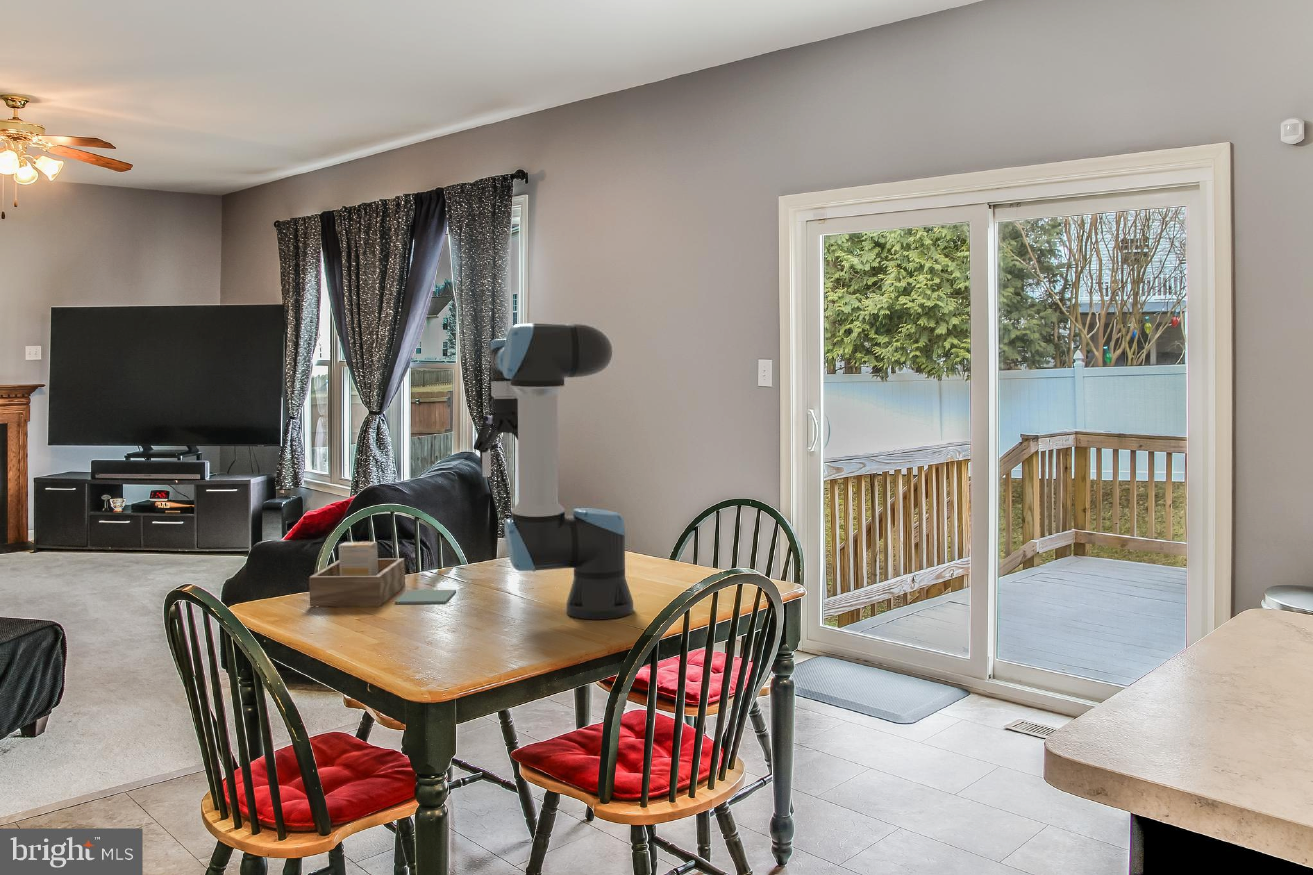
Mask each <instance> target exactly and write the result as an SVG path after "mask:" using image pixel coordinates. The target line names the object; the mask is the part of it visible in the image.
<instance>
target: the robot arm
mask: <svg viewBox="0 0 1313 875" xmlns="http://www.w3.org/2000/svg"><path fill="white" fill-rule="evenodd" d="M489 354H490V369H491V372H490V374H491V375H490V376H491V377H490V378H491V379H490V380H491V383H490V386H491V387H490V388H491V389H490V391H491V393H490V394H491V397H492V399H491V411H492V414H493V415H484V416H482V421H481V422H482V424H481V427H480V428H479V429H480V430H479V431H478V434H477V437H476V440H475V443H474V444H473V450H474V451H478V452H479V458H480V459H479V460H480V461H479V462H480V465H482V466H481V467H482V468H481V469H482V478H488V477H491V476H492V459H491V456H492V455H491V454H492V453H491V451H490V448H491V447H492V445H493V444H494V443H495V441H496V440H497V438H498V437H499V435H500V434H502V433H503V434H504V433H506V434H512V435H513V436H514V437H515V439H516V440H517V448H518V449H517V452H518V454H517V455H518V457H517V461H518V463H517V464H518V466H517V467H518V469H517V470H518V471H517V473H518V481H517V482H518V502H517V504H516V505H515V506H514V507H513V508H512V509H511V517H509V518H506V519H505V520H504V537H505V543H506V550H507V553H508V558H509V561H510V564H511V566H512V568H514V569H515V570H517V572H519V571H520V572H536V571H547V570H560V569H561V570H562V569H573V581H572V584H571V587H570V590H569V593H568V596H567V600H566V604H565V605H566V606H565V607H566V614H567V615H568V616H570V617H573V618H578V619H582V620H610V619H611V620H612V619H618V618H623V617H627V616H629V615H631V614H632V613H634V600H633V596H632V594H631V590H630V588H629V587H630V586H629V584H628V582H627V579H626V534H627V533H626V528H625V519H624V517H623V515H622V514H620V513H618V512H615V511H611V510H606V509H600V508H592V507H590V508H587V507H579V508H578V507H577V508H574V509H573V510H572V512H571V515H566V514H565V513H566V511H565V510H566V509H565V508H564V506H562V505H561V504H560V502H559V499H558V498H559V493H558V492H559V484H558V481H559V480H558V478H559V475H558V474H559V473H558V472H559V471H558V469H559V468H558V467H559V466H558V463H559V462H558V461H559V460H558V454H559V453H558V452H559V451H558V443H559V442H558V436H559V435H558V434H559V433H558V432H559V431H558V430H559V429H558V427H559V426H558V396H559V393H560V392H561V391H562V389H563V388H564V387H565V379H566V378H567V379H568V378H583V377H589V376H592V375H596V374H598V373H600V372H602V371H604V370H605V369H606V368H607V367H608V365H609V364H610V363H611V361H612V357H613V346H612V343H611V341H610V340H609V338H608V337H607V335H606V334H604V333H603V332H602V331H601V330H599V329H598V328H595V327H593V326H590V325H586V324H582V323H581V324H580V323H534V322H529V323H519V324H514V325H512V326H511V327H510V328H509V329H508V332H507V334H506V337H505V338H500V339H499V338H496V339H495V338H494V339H493V340H491V342H490V351H489ZM492 424H493V426H492ZM491 426H492V427H491Z"/></svg>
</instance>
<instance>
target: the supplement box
mask: <svg viewBox="0 0 1313 875" xmlns="http://www.w3.org/2000/svg"><path fill="white" fill-rule="evenodd" d="M378 556H379V555H378V542H377V541H345V542H342V543H339V545H338V560H339V569H340V576H376V575H377V574H378V559H379V558H378Z"/></svg>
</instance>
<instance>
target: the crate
mask: <svg viewBox="0 0 1313 875" xmlns="http://www.w3.org/2000/svg"><path fill="white" fill-rule="evenodd" d="M405 559H406V558H405V557H404V558H403V557H402V558H394V557H393V558H390V557H389V558H378V574H377V575H376V576H340V569H339V559H338V560H336V561H335V562H333V563H331V564H329V565H328V566H326V567H324V568H322V569H320V570H319V571H317V572H315V573H313V574H312V575H310V576H309V577H308V582H309V583H308V585H309V586H308V587H309V591H308V592H309V607H310V606H329V608H330V606H332V607H331V608H335V607H334V606H354V607H355V606H357V607H358V606H359V607H360V608H361V607H366V608H367V607H381V606H382V605H384V604H385V603H386V602H387V601H389V600H390V599H391V598H392V597H393V596H394V595H395V594H397V593H398V592H399V591H400V590H402V589H403V588H404V587H405V586H406V567H405V566H406V565H405V564H406V562H405ZM359 607H358V608H359Z"/></svg>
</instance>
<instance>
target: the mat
mask: <svg viewBox="0 0 1313 875" xmlns="http://www.w3.org/2000/svg"><path fill="white" fill-rule="evenodd" d="M456 593H457V589H407V590H406V591H404V592H403V593H402V595H400V596H399V597H398V598H397V599H396V600H395V601H394V605H421V604H422V605H426V604H427V605H431V604H432V605H435V604H436V605H437V604H439V605H442V604H444V605H446V604H447V603H448V601H450V599H451V598H452V597H453V596H454V595H455V594H456Z"/></svg>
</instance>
